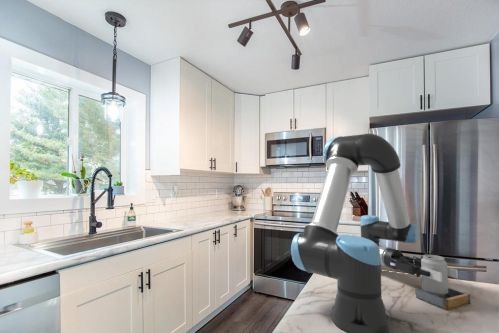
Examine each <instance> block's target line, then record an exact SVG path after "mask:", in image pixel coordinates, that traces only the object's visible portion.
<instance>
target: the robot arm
mask: <svg viewBox="0 0 499 333" xmlns="http://www.w3.org/2000/svg"><path fill="white" fill-rule="evenodd" d="M323 161H324V163H325V166H326V168H327V171H326V172H327V173H326V174H325V178H324V182H323V184H322V188H321V191H320V194H319V197H318V200H317V203H316V207H315V209H314V214H313V216H312V218H311V222H310V223H308V224H305V226H304V229H303V231H302V232H298V233H296V234H295V235H294V236H293V238H292V242H291V245H290V254H291V259H292V262H293V263H294V265H295V266H296V267H297V268H298V269H300V270H301V271H304V272H307V273H308V274H309V273H310V274H311V273H312V274H315V275H319V276H322V277H327V278H329V279H330V278H331V279H334V280H336V281H337V285H336V286H337V287H336V288H337V292H336V294H335V295H336V296H335V299H334V303H333V305H332V308H331V321H332V322H333V324H335V326H337V327H338V328H339V329H341V330H343V331H344V332H347V333H389V331H390V317H389V315H388V313H387V310H386V307H385V303H384V300H383V298H382V267H386V268H387V267H388V268H389V269H393V270H400V271H401V272H404V273H406V274H409V275H412V276H415V275H416V276H415V277H417V278H421V277H422V276H425V277H428V278H431V279H434V280H437V281H440V282H442V273H440V272H437V271H434V270H430V269H427V268H424V267H421V259H422V258H420V257H417V256H411V257H410V256H408V255H404V254H403V252H402V251H400V250H399V249H395V248H391V247H387V246H383V245H380V241H381V240H386V241H391V242H392V241H393V242H399V243H404V244H416V243H418V241H419V236H420V232H419V227H418V225H417V224H414V223H411V221H410V215H409V212H408V207H407V203H406V199H405V198H406V197H405V195H404V190H403V185H402V180H401V177H400V176H401V175H400V172H399V169H400V167H401V160H400V157H399V155H398V153H397V151H396V149H395V148H394V146H393V145H392V144H391V143H390V142H388V140H387V139H385V138H384V137H382V136H380V135H377V134H374V133H363V134H353V135H345V136H337V137H332V138H329V140H328V141H327V142H326V143H325V145H324V147H323ZM360 166H370V168H371V171H372V172H373V173H374V174H375V175H376V179H377V183H378V186H379V190H380V194H381V199H382V202H383V205H384V210H385V213H386V217H387V220H388V221H382V220H380V217H379V216H378V215H370V214H367V215H366V214H365V215H362V216H361V217H360V225H359V226H360V235H359V236H358V235H351V234H340V235H339V233H338V232H337V231H338V226H339V223H340V219H341V215H342V213H343V209H344V204H345V201H346V197H347V193H348V189H349V185H350V182H351V178H352V176H353V175H355V174H357V172H358V168H359V167H360ZM447 270H448V277H452V278H454V279H458V278H459V272H458V271H459V270H458V269H456V268H453V267H449V266H447Z"/></svg>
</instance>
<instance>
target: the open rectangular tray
mask: <svg viewBox="0 0 499 333" xmlns="http://www.w3.org/2000/svg"><path fill="white" fill-rule="evenodd" d="M415 298H416V299H418V300H420V301H422V302H425V303H427V304H430V305H431V306H434V307H437V308H440V309H441V310H444V311H450V310H454V309H458V308H463V307H465V306H469V305H471V303H472V302H471V294H469V293H467V292H464V291H461V290H458V289H455V288H452V287H450V286H448V293H447V294H445V295H434V294H431V293H428V292H426V291H425V290H424V289H421V288H415Z"/></svg>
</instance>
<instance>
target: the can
mask: <svg viewBox="0 0 499 333" xmlns="http://www.w3.org/2000/svg"><path fill="white" fill-rule="evenodd" d="M421 267H424V268H427V269H430V270H434V271H437V272H440V273H442V282H440V281H437V280H434V279H431V278H428V277H425V276H422V275H421V288H422V290H423V291H426V292H428V293H431V294H434V295H445V294H447V293H448V287H449V279H448V278H449V276H448V270H447V267H448V263H447V261H446V260H445V257H443V256H440V255H437V254H423V255H422V258H421Z"/></svg>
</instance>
